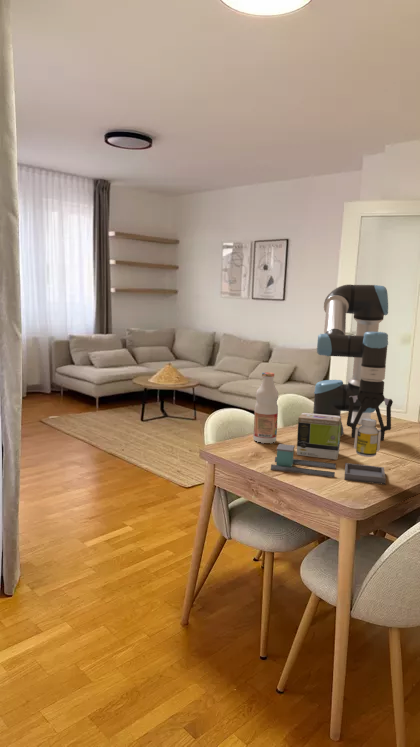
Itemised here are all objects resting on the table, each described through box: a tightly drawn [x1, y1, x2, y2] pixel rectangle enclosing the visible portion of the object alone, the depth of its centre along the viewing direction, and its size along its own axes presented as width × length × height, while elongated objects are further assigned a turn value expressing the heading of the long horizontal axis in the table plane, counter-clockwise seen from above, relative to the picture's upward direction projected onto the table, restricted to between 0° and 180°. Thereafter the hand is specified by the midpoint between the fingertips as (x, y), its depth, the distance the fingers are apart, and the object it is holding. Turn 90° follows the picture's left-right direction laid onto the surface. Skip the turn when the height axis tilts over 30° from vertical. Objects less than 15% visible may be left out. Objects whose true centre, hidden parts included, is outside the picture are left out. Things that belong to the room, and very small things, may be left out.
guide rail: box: [270, 456, 337, 478], centre depth 173 cm, size 10×21×2 cm, turn 74°
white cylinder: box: [351, 412, 372, 426], centre depth 242 cm, size 9×9×12 cm
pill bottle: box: [355, 418, 379, 458], centre depth 165 cm, size 6×6×12 cm
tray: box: [343, 462, 387, 486], centre depth 167 cm, size 12×13×2 cm
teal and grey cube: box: [275, 443, 296, 467], centre depth 174 cm, size 6×5×6 cm
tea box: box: [296, 412, 342, 460], centre depth 189 cm, size 15×10×15 cm, turn 71°
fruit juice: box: [252, 371, 279, 444], centre depth 203 cm, size 9×9×28 cm
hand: (366, 448), depth 166 cm, fingers closed on pill bottle, 6 cm apart
